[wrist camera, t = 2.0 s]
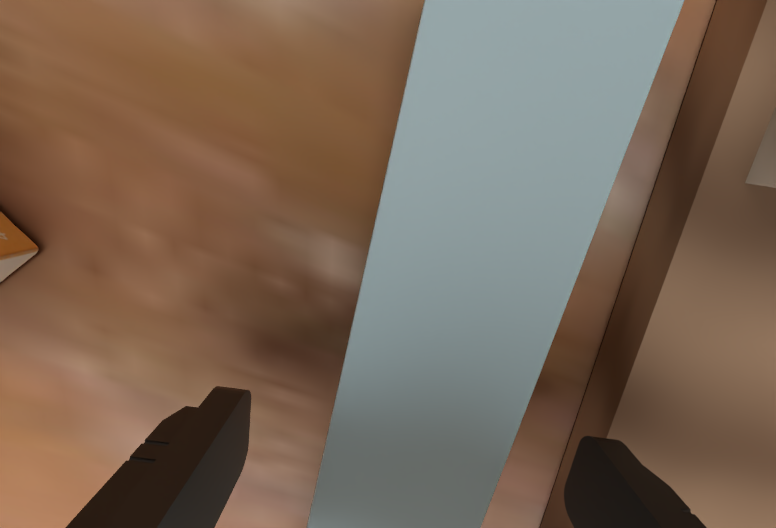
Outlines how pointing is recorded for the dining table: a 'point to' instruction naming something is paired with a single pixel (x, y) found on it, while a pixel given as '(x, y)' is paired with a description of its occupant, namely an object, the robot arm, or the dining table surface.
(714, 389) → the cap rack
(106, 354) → the dining table surface
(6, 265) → the small box
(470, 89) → the slat
